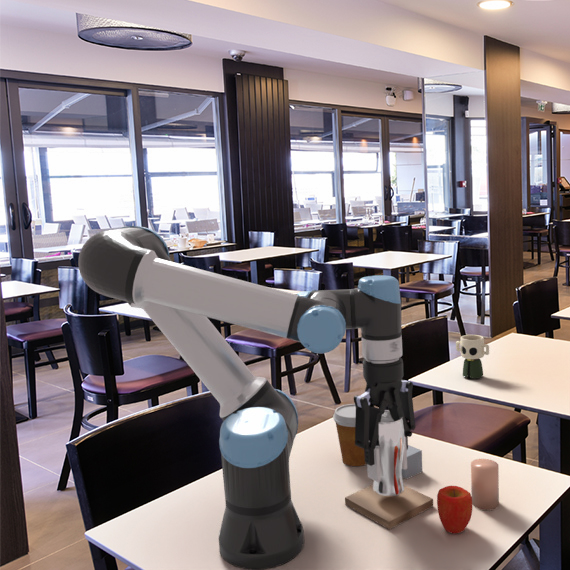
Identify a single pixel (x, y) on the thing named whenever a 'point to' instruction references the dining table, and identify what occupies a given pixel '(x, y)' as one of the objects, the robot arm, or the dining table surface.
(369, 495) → the walnut board
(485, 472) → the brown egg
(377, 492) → the steel tumbler
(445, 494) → the apple
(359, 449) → the disposable coffee cup
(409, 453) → the slate block
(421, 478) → the dining table surface
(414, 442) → the dining table surface
